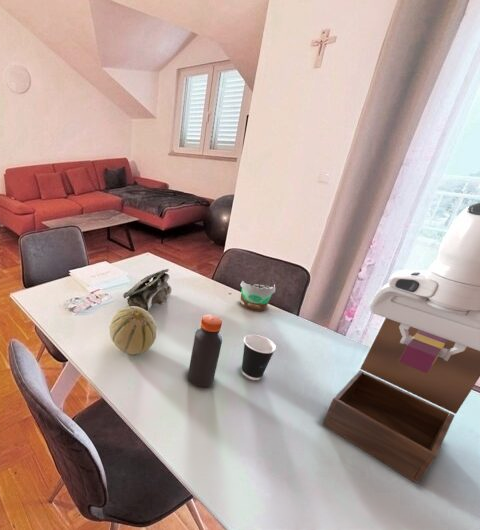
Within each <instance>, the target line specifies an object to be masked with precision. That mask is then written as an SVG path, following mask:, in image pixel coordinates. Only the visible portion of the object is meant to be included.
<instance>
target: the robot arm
mask: <svg viewBox="0 0 480 530" xmlns="http://www.w3.org/2000/svg"><path fill="white" fill-rule="evenodd" d="M368 309H369V311H370V313H371V314H373V315H376V316H379V317H382V318H384V319H385V318H388V319H391V320H393V321H396V322H399V323H401V324H400V326H399V329H400V331H401V334H402V336H403V337H402V339H401V341H400V343H402V344H404V345H408V344H409V343H410V341H411V340H412V338H413V336H411V335H409V331H408V330H409V328H410V327H413V328H416V329H419V330H422V331H425V332H427V333H430V334H433V335H436V336H439V337H442V338H444V339H447V340H450V341H453V342H456V343H455V345H454V347H453V348H451V349H446V348H442V350H441V351H440V353H439V355H438V358H440V359H443V360H445V361H448V359H449V358H450V356H451V355H454V354H456V353H459V352H462V351H464V350H465V349H466V347H470V348H473V349H475V350H478V351H480V202H478V203H474V204H471V205H469V206H467V207H466V208H465V209H463V210H462V211H461V212H460V213H459V215H458V216H457V217H456V219H455V220H454V221H453V223H452V224H451V225H450V227H449V229H448V230H447V232H446V233H445V236H444V237H443V240H442V242H441V243H440V246H439V249H438V255H437V259H436V260H435V261H434V262H433V263H432V264H431V265H430V266H429V268H428V270H412V269H411V270H410V269H403V270H402V269H401V270H398V271H396V272H394V273H393V274H392V275H391V276H390V278H389V279H388V282H387V283H386V284H384V285H383V286H382V287H381V288H379V290H377V292H376V293H375V294H374V296H373V298H372V299H371V301H370V303H369V306H368Z"/></svg>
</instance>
